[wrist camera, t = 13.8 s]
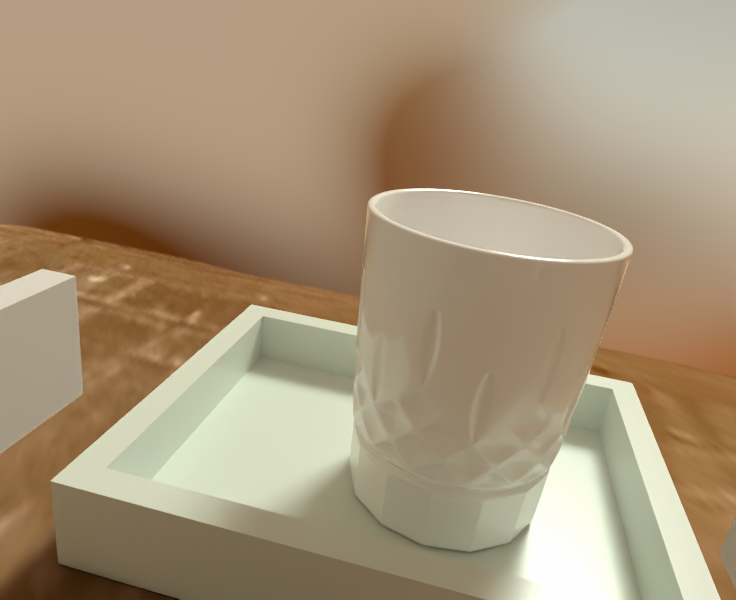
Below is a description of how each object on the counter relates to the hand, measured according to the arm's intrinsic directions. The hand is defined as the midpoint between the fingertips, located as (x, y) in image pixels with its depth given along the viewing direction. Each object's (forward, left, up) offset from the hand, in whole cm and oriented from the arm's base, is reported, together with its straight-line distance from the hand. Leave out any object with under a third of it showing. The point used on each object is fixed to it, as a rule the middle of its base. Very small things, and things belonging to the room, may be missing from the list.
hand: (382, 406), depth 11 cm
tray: (0, -9, -9) cm, 12 cm away
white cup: (-2, -9, -8) cm, 12 cm away
